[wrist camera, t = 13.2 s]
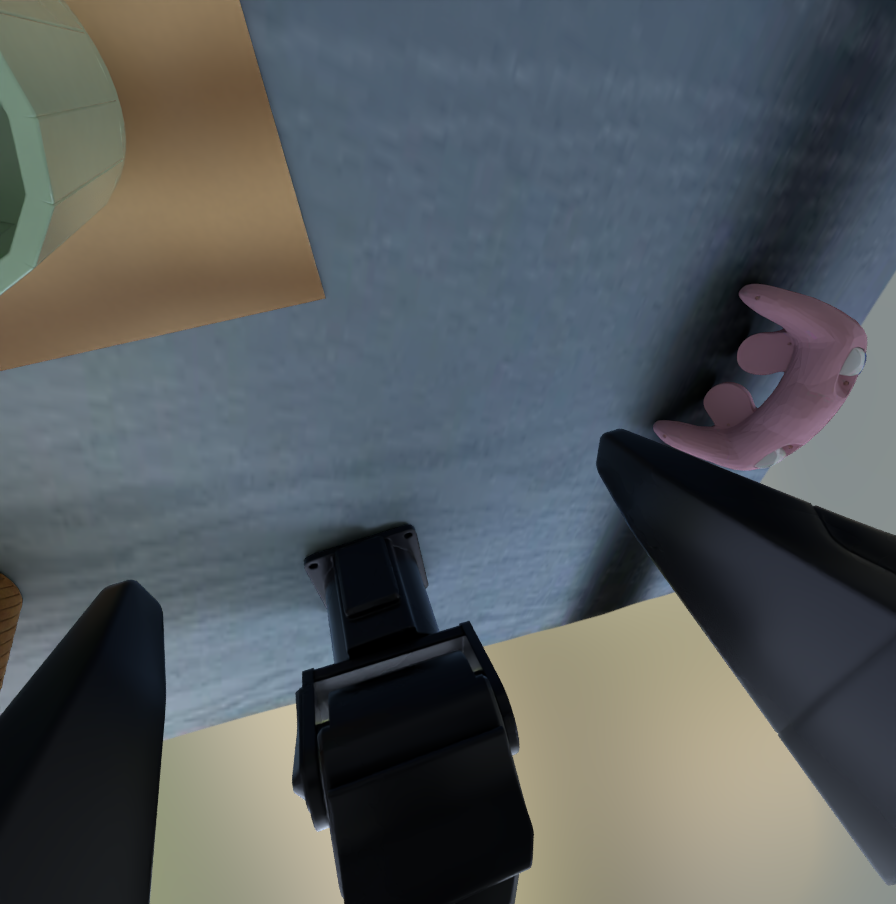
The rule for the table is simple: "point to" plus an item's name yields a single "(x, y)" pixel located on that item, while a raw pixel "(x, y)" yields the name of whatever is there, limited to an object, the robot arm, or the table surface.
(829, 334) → the video game controller
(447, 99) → the table surface
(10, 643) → the disposable coffee cup
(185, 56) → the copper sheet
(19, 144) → the glazed cup
